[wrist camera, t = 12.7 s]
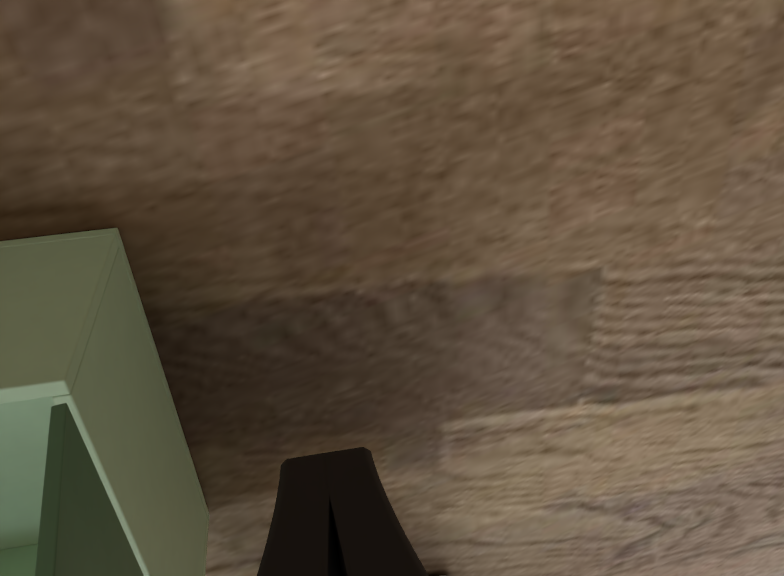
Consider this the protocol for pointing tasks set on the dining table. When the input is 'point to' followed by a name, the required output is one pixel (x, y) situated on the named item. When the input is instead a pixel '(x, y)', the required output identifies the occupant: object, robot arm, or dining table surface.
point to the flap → (78, 511)
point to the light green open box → (91, 401)
